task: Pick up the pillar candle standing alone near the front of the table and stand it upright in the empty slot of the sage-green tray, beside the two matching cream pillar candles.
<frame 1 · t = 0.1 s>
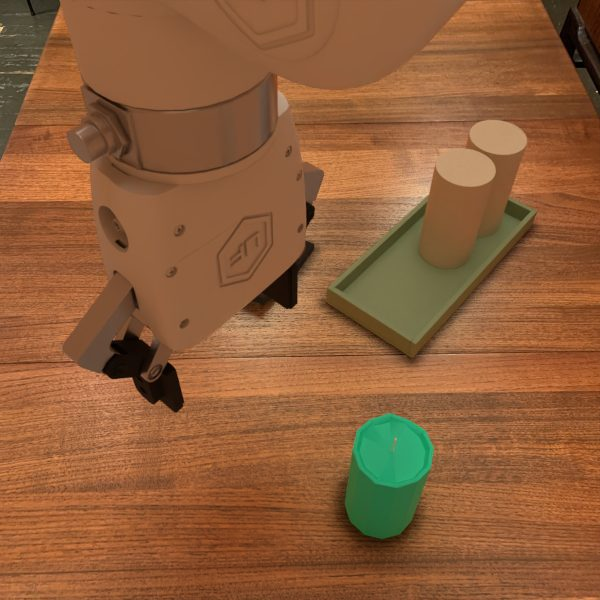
hand: (222, 343, 40), 22 cm above the table, tool pointing down, fingers open, 9 cm apart
cream candle a: (474, 219, 78), resting on tray
calculator: (253, 268, 74), on the table
tray: (434, 262, 74), on the table
candle: (379, 505, 57), on the table
cream candle b: (444, 249, 75), resting on tray
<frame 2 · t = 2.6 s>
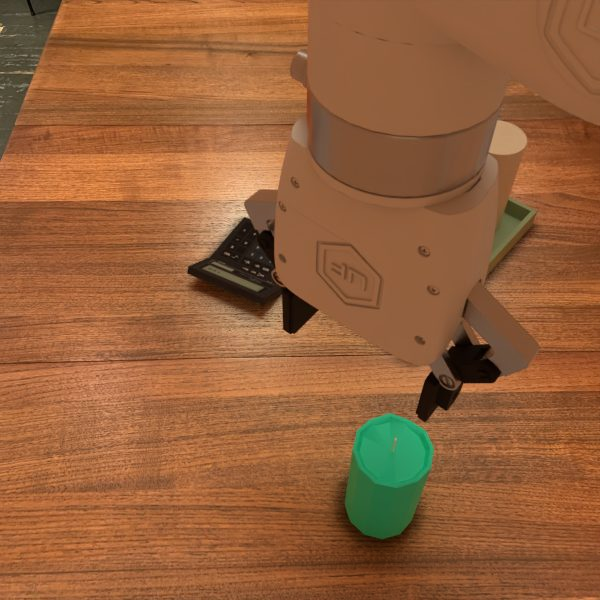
hand: (365, 358, 40), 22 cm above the table, tool pointing down, fingers open, 9 cm apart
nothing on the table moved.
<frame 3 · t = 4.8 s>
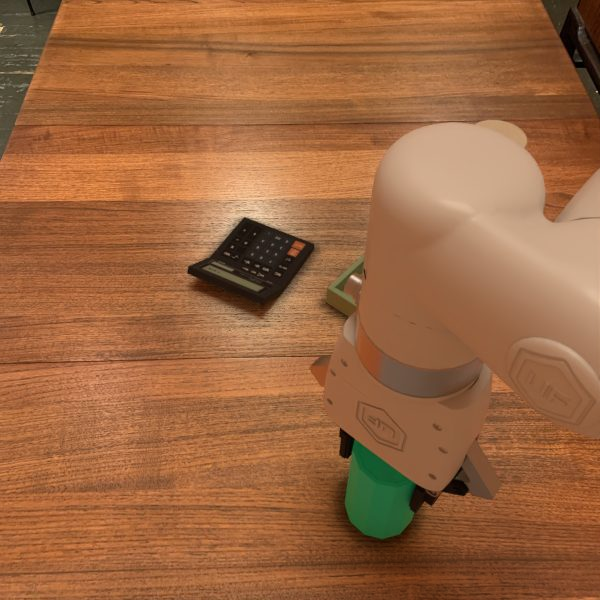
hand: (388, 469, 51), 7 cm above the table, tool pointing down, fingers closed on candle, 5 cm apart
candle: (379, 505, 57), on the table, touching gripper
everything else where it was.
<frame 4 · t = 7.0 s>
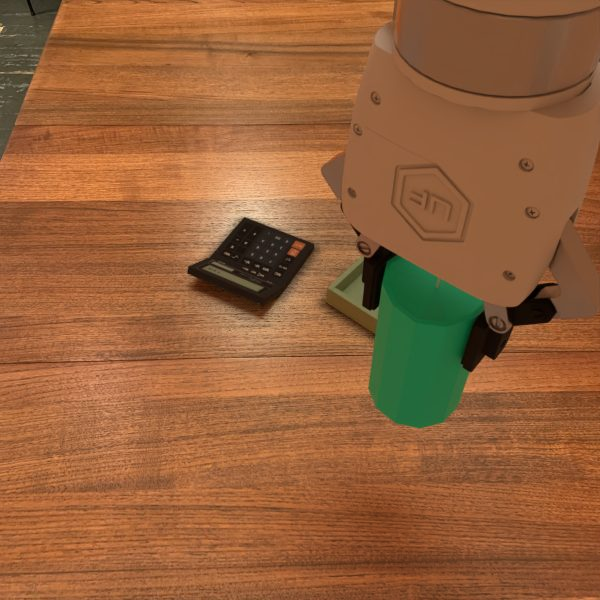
hand: (429, 321, 37), 25 cm above the table, tool pointing down, fingers closed on candle, 5 cm apart
candle: (413, 389, 43), point 18 cm above the table, touching gripper
everything else where it was.
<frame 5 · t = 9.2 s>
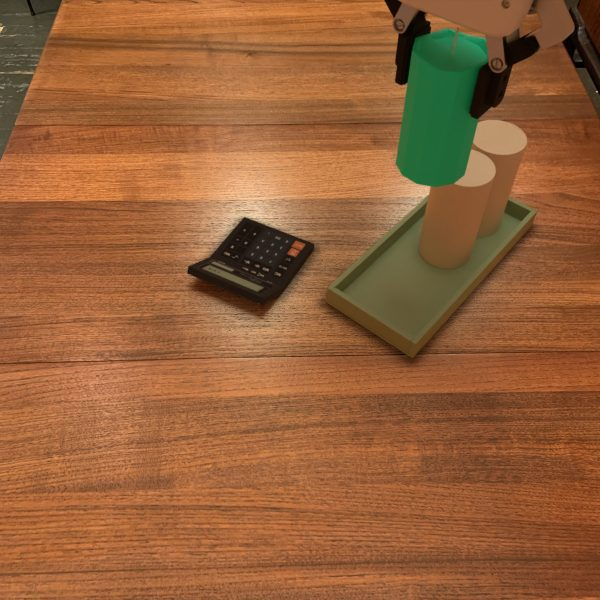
hand: (445, 91, 50), 26 cm above the table, tool pointing down, fingers closed on candle, 5 cm apart
candle: (430, 165, 56), point 19 cm above the table, touching gripper
everything else where it was.
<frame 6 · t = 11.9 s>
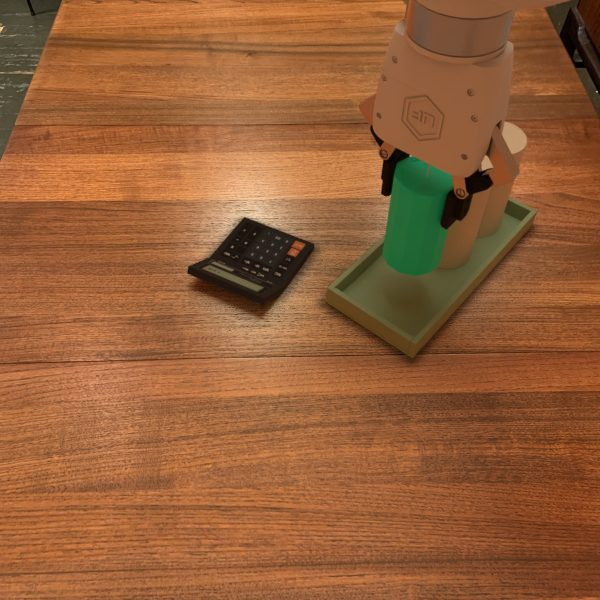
hand: (422, 202, 61), 13 cm above the table, tool pointing down, fingers closed on candle, 5 cm apart
candle: (411, 255, 67), point 6 cm above the table, touching gripper
everything else where it was.
when the fingers open (7 cm above the table, at t = 13.8 s): candle stays where it is, resting on tray.
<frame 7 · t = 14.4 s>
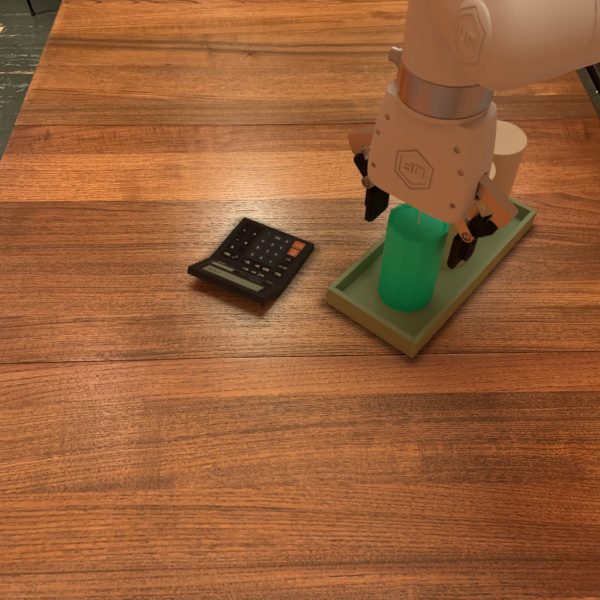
hand: (415, 236, 65), 9 cm above the table, tool pointing down, fingers open, 9 cm apart
candle: (404, 292, 71), resting on tray
everything else where it was.
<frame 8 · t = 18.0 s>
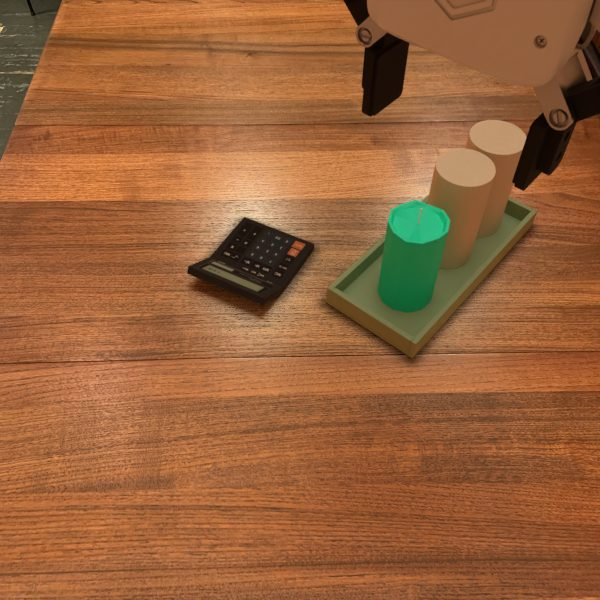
hand: (452, 138, 36), 32 cm above the table, tool pointing down, fingers open, 9 cm apart
nothing on the table moved.
at the end: candle inside the target area in the tray (0.1 cm from its centre), point 0.3 cm above the tray's base; candle tilted 0°; the gripper is holding nothing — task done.
